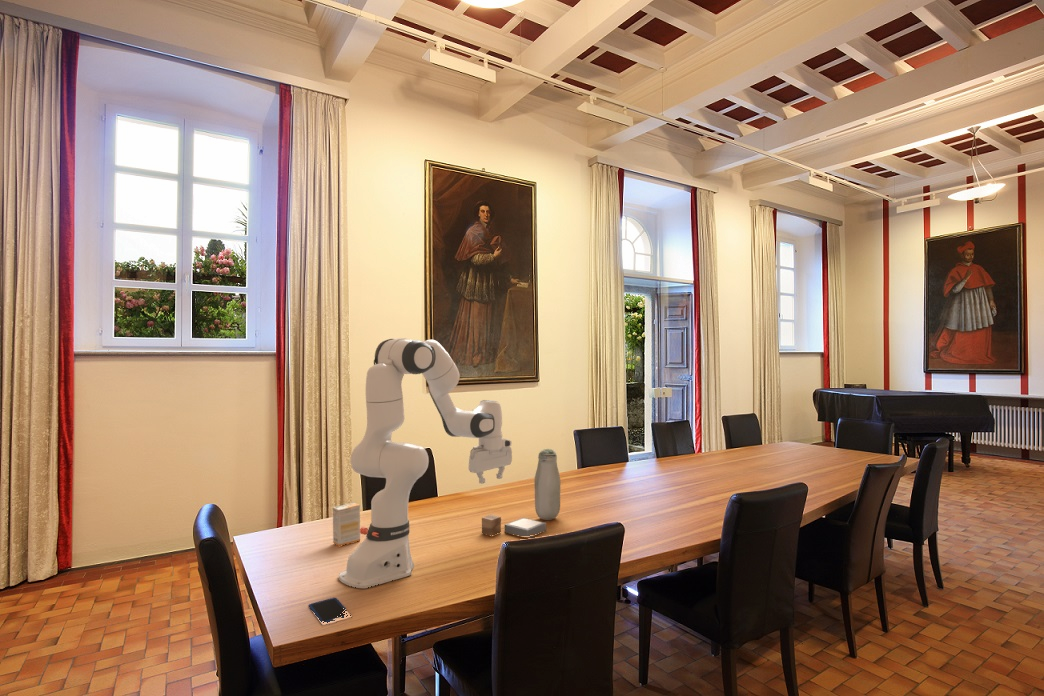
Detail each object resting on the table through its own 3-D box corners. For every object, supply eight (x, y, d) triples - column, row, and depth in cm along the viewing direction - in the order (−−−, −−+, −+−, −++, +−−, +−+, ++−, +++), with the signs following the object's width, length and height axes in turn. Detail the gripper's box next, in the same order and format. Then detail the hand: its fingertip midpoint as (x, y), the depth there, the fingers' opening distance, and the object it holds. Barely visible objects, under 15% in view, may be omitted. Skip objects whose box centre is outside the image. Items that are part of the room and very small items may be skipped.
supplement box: (354, 538, 195) (354, 502, 195) (360, 541, 191) (360, 504, 191) (332, 544, 189) (332, 506, 189) (338, 547, 185) (338, 509, 186)
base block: (527, 538, 192) (527, 529, 192) (504, 532, 199) (504, 524, 199) (546, 531, 200) (546, 522, 200) (523, 525, 207) (523, 517, 207)
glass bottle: (547, 524, 208) (547, 452, 209) (530, 518, 216) (529, 449, 217) (565, 519, 215) (564, 449, 215) (547, 513, 222) (547, 446, 223)
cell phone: (322, 627, 130) (322, 624, 130) (307, 606, 141) (307, 604, 141) (352, 618, 134) (352, 615, 134) (335, 599, 146) (335, 596, 146)
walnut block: (491, 536, 195) (491, 520, 195) (481, 533, 198) (481, 517, 198) (500, 533, 199) (500, 516, 199) (491, 530, 202) (490, 514, 202)
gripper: (476, 448, 189) (477, 487, 189) (514, 440, 205) (514, 477, 204) (464, 446, 193) (464, 484, 193) (502, 439, 209) (502, 474, 209)
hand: (490, 480), depth 199 cm, fingers open, 8 cm apart
